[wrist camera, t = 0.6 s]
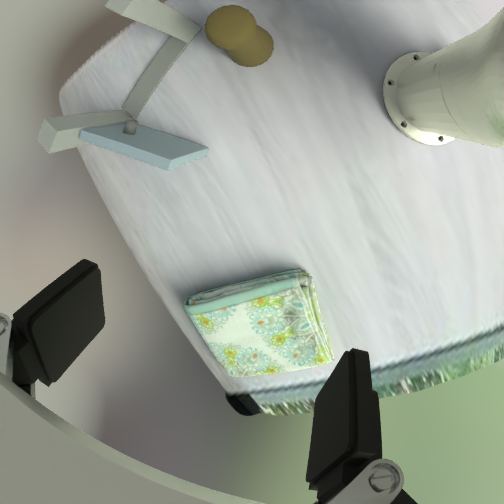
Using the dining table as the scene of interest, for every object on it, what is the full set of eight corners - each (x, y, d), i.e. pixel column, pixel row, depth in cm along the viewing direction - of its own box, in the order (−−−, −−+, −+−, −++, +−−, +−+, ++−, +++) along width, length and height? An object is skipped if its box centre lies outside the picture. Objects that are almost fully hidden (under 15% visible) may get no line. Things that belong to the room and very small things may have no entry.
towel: (337, 350, 49) (337, 370, 45) (230, 365, 56) (223, 384, 52) (310, 261, 43) (308, 278, 39) (188, 290, 50) (176, 307, 46)
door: (129, 130, 39) (79, 139, 29) (134, 112, 38) (83, 117, 28) (206, 156, 39) (167, 171, 29) (212, 136, 37) (174, 145, 27)
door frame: (187, 18, 31) (121, -18, 17) (202, 27, 31) (140, -10, 17) (113, 126, 40) (36, 140, 26) (125, 136, 40) (48, 153, 26)
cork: (218, 48, 32) (184, 28, 23) (250, 18, 30) (226, -12, 20) (250, 75, 33) (225, 60, 24) (283, 45, 31) (270, 19, 21)
